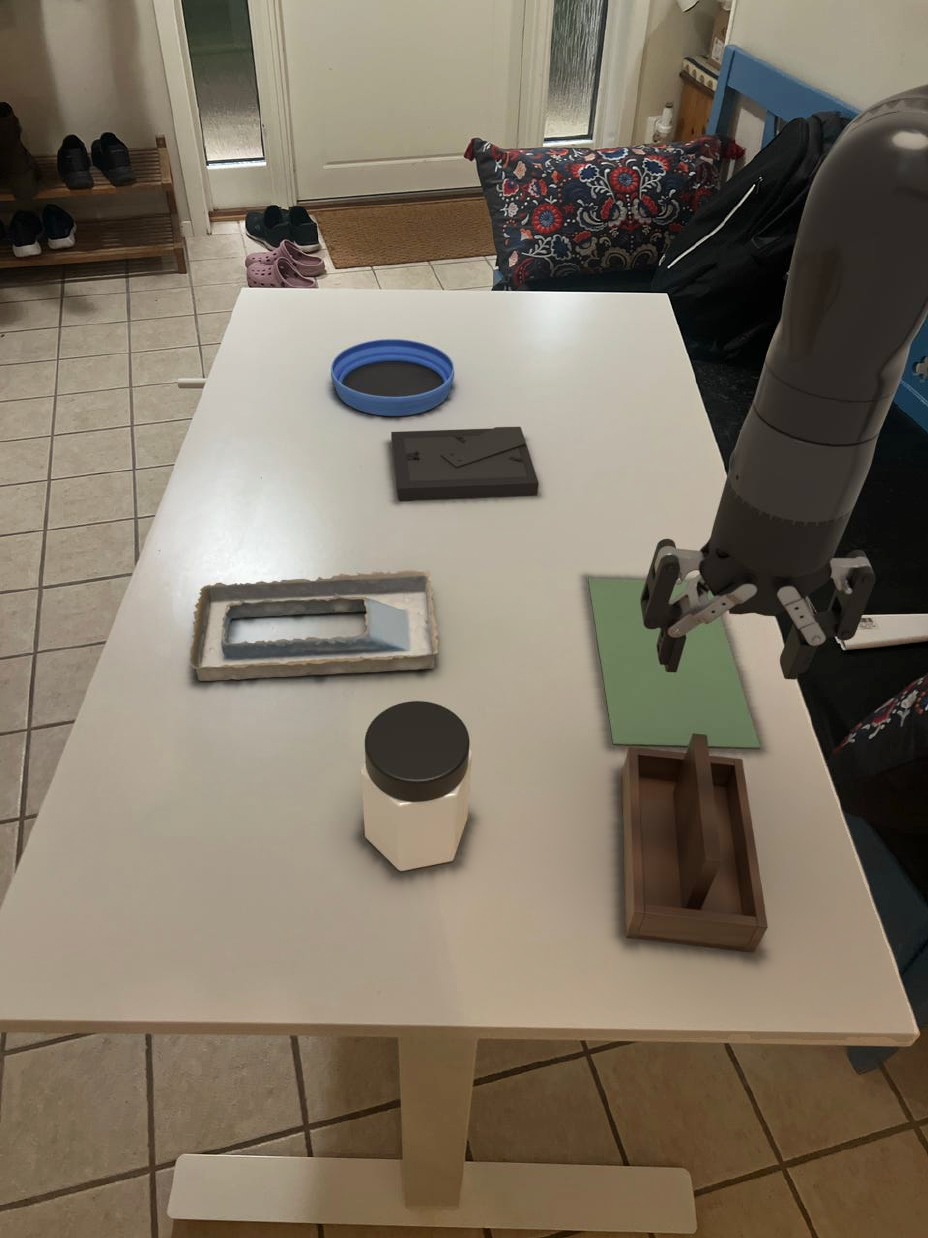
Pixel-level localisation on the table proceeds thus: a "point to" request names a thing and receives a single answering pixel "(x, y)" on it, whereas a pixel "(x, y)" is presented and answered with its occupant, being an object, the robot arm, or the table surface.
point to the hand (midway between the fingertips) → (728, 667)
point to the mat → (666, 676)
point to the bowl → (392, 377)
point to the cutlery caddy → (690, 850)
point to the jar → (416, 783)
